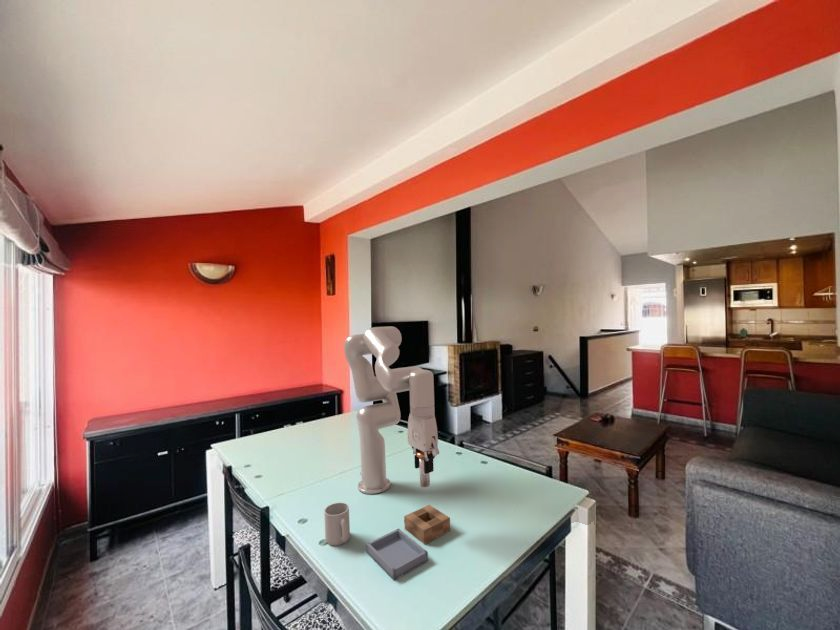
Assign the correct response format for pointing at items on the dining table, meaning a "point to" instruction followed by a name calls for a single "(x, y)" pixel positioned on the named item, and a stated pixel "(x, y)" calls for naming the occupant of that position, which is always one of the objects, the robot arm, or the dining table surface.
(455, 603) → the dining table surface
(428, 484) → the pin
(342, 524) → the cup
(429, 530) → the hitch block
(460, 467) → the dining table surface
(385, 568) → the tray
